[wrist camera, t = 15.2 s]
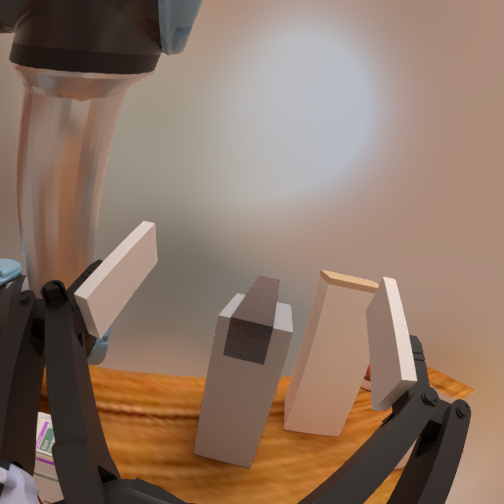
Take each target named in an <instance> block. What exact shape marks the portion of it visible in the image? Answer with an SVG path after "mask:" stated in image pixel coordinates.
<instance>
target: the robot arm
mask: <svg viewBox="0 0 504 504" xmlns="http://www.w3.org/2000/svg"><path fill="white" fill-rule="evenodd" d="M202 1H203V0H0V33H15V35H14V39H13V44H12V48H11V53H10V58H9V65H10V66H11V68H12V69H13V70H14V72H15V73H16V74H17V75H18V77H19V78H20V79H21V80H22V82H23V87H22V94H21V100H20V108H19V118H18V128H17V146H16V191H17V208H18V219H19V228H20V237H21V244H22V251H23V258H24V263H25V269H26V274H27V276H26V275H22V274H21V272H22V268H21V265H20V263H19V262H17V261H14V260H11V259H0V504H40V503H39V501H38V498H37V495H38V494H39V492H40V491H39V487H38V485H36V482H35V480H34V479H33V475H34V469H35V458H36V435H37V421H38V411H39V402H40V394H41V387H42V380H43V374H44V368H45V363H46V379H47V390H48V399H49V407H50V414H51V421H52V427H53V432H54V438H55V443H54V444H53V445H52V449H51V451H52V457H53V461H54V466H55V470H56V474H57V477H58V481H59V484H60V488H61V491H62V494H63V498H64V499H63V500H60V501H57V502H54V503H50V504H194V503H186V502H184V501H182V500H180V499H179V498H177V497H175V496H174V495H172V494H171V493H169V492H167V491H166V490H164V489H163V488H161V487H159V486H156V485H153V484H151V483H148V482H146V481H143V480H141V479H139V478H136V479H135V480H133V479H121V478H120V475H119V472H118V470H117V468H116V465H115V464H114V462H113V460H112V458H111V456H110V454H109V451H108V448H107V444H106V441H105V438H104V434H103V431H102V427H101V423H100V419H99V415H98V411H97V407H96V403H95V398H94V394H93V389H92V384H91V379H90V373H89V368H88V365H98V364H100V363H102V362H103V360H104V359H105V356H106V353H107V348H108V343H109V335H110V329H111V323H112V322H113V321H114V320H115V318H116V317H117V315H118V314H119V313H120V311H121V310H122V308H123V307H124V306H125V304H126V303H127V302H128V300H129V299H130V297H131V296H132V295H133V293H134V292H135V291H136V289H137V288H138V287H139V285H140V284H141V283H142V281H143V280H144V279H145V277H146V276H147V274H148V273H149V272H150V271H151V269H152V268H153V267H154V266H155V264H156V263H157V247H156V231H155V223H150V222H146V221H143V223H142V224H140V225H139V226H138V227H137V228H136V229H135V230H134V231H133V232H132V233H131V234H130V235H129V236H128V237H127V238H126V239H125V240H124V241H123V242H122V243H121V244H120V245H119V246H118V247H117V248H116V249H115V250H114V251H113V252H112V253H111V254H110V255H109V256H108V257H107V258H106V259H105V260H104V261H102V260H97V261H96V262H94V255H95V244H96V234H97V225H98V217H99V210H100V202H101V196H102V190H103V184H104V178H105V174H106V168H107V163H108V158H109V154H110V150H111V145H112V141H113V137H114V132H115V129H116V125H117V121H118V117H119V114H120V110H121V107H122V103H123V100H124V97H125V94H126V91H127V90H128V89H129V88H130V87H131V86H132V85H134V84H136V83H138V82H139V81H141V80H143V79H145V78H147V77H148V76H150V75H152V74H153V72H154V70H155V67H156V64H157V62H158V59H159V57H160V54H161V53H162V52H163V53H166V54H167V55H171V54H179V53H181V52H182V51H183V50H184V48H185V46H186V43H187V41H188V37H189V35H190V31H191V29H192V25H193V23H194V20H195V18H196V16H197V14H198V12H199V9H200V6H201V4H202ZM365 312H366V322H367V332H368V343H369V357H370V373H371V400H372V410H378V411H386V410H388V409H389V408H390V407H391V406H392V413H391V414H390V415H389V416H388V417H387V418H385V419H384V420H383V421H382V422H383V423H382V424H381V426H380V427H379V428H378V429H377V430H376V431H375V432H374V433H373V435H372V436H371V437H370V438H369V439H368V440H367V441H366V442H365V443H364V444H363V445H362V446H361V447H360V448H359V449H358V450H357V451H356V452H355V453H354V454H353V455H352V456H351V457H350V458H349V459H348V460H347V461H346V462H345V463H344V464H343V465H342V466H341V467H340V468H339V469H338V470H337V471H336V472H335V473H333V474H332V475H331V476H330V477H329V478H328V479H327V480H326V481H324V482H323V483H322V484H321V485H320V486H319V487H317V488H316V489H315V490H314V491H313V492H311V493H310V494H309V495H308V496H306V497H305V498H304V499H302V500H301V501H300V502H299V503H297V504H363V503H364V502H365V501H366V500H367V499H368V498H369V497H370V496H371V495H372V494H373V493H374V491H375V490H376V489H377V488H378V487H379V486H380V485H381V484H382V483H383V481H384V480H385V479H386V478H387V477H388V476H389V474H390V473H391V472H392V471H393V469H394V468H395V467H396V466H397V465H398V463H399V462H400V461H401V459H402V458H403V457H404V455H405V454H406V453H407V452H408V450H409V449H410V447H411V446H412V445H413V443H414V442H415V440H416V439H417V440H416V443H415V445H414V448H413V450H412V452H411V455H410V457H409V459H408V462H407V464H406V466H405V468H404V470H403V472H402V475H401V477H400V479H399V481H398V483H397V485H396V487H395V489H394V491H393V492H392V494H391V496H390V498H389V500H388V502H387V503H386V504H445V501H446V499H447V496H448V494H449V491H450V489H451V486H452V483H453V480H454V477H455V474H456V471H457V468H458V465H459V462H460V458H461V455H462V451H463V448H464V444H465V440H466V436H467V432H468V427H469V423H470V418H471V410H470V407H469V405H468V404H467V403H466V402H465V401H464V400H461V399H458V400H456V401H454V402H453V403H452V404H450V403H448V402H445V401H443V400H440V399H439V396H438V394H437V392H436V391H435V390H434V389H433V388H432V387H430V385H429V379H428V374H427V368H426V363H425V362H424V360H425V358H424V355H423V349H422V345H421V343H420V341H419V340H418V338H417V337H416V336H412V335H409V333H408V329H407V324H406V320H405V316H404V312H403V307H402V303H401V300H400V295H399V292H398V288H397V284H396V281H395V279H391V278H387V277H383V278H382V281H381V283H380V285H379V287H378V289H377V290H376V292H375V294H374V296H373V298H372V300H371V302H370V304H369V306H368V308H367V310H366V311H365Z"/></svg>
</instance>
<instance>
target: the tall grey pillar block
mask: <svg viewBox="0 0 504 504" xmlns="http://www.w3.org/2000/svg"><path fill="white" fill-rule="evenodd" d="M244 297H245V295H243V294H238V293H237V294H236V295H235V297H234V298H233V299H232V300H231V301H230V303H229V304H228V305H227V306H226V307H225V308H224V309H223V311H222V312H221V313H220V314H219V316H218V321H217V326H216V331H215V336H214V341H213V347H212V352H211V357H210V362H209V368H208V373H207V378H206V384H205V389H204V395H203V400H202V406H201V411H200V417H199V423H198V429H197V434H196V440H195V446H194V452H193V454H196V455H200V456H203V457H207V458H210V459H214V460H218V461H222V462H226V463H230V464H234V465H238V466H243V467H248V468H250V467H251V465H252V462H253V459H254V456H255V453H256V451H257V448H258V445H259V442H260V439H261V436H262V433H263V430H264V427H265V424H266V421H267V418H268V415H269V412H270V409H271V405H272V402H273V399H274V396H275V393H276V389H277V386H278V383H279V379H280V376H281V373H282V369H283V366H284V362H285V359H286V355H287V352H288V348H289V345H290V341H291V337H292V334H293V329H292V315H291V306H290V305H286V304H282V303H277V305H276V312H275V320H274V327H273V331H272V335H271V339H270V343H269V347H268V351H267V355H266V358H265V362H264V365H261V364H257V363H253V362H249V361H244V360H240V359H236V358H232V357H229V356H225V355H223V352H224V347H225V342H226V338H227V333H228V328H229V323H230V318H231V316H232V314H233V313H234V311H235V310H236V309H237V307H238V306H239V304H240V303H241V301H242V300H243V298H244Z"/></svg>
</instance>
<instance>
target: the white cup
mask: <svg viewBox="0 0 504 504" xmlns="http://www.w3.org/2000/svg"><path fill="white" fill-rule="evenodd" d="M416 440H417V439H416ZM416 440H415V442H414V443H413V445H412V446H411V447H410V449H409V450H408V452H407V453H406V454H405V455H404V457H403V458H402V459H401V461H400V462H399V463H398V465H397V466H396V467H395V468H394V469H400V468H403V467H404V466H405V465H406V464H407V462H408V459H409V457H410V455H411V452H412V450H413V448H414V445H415V443H416Z"/></svg>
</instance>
